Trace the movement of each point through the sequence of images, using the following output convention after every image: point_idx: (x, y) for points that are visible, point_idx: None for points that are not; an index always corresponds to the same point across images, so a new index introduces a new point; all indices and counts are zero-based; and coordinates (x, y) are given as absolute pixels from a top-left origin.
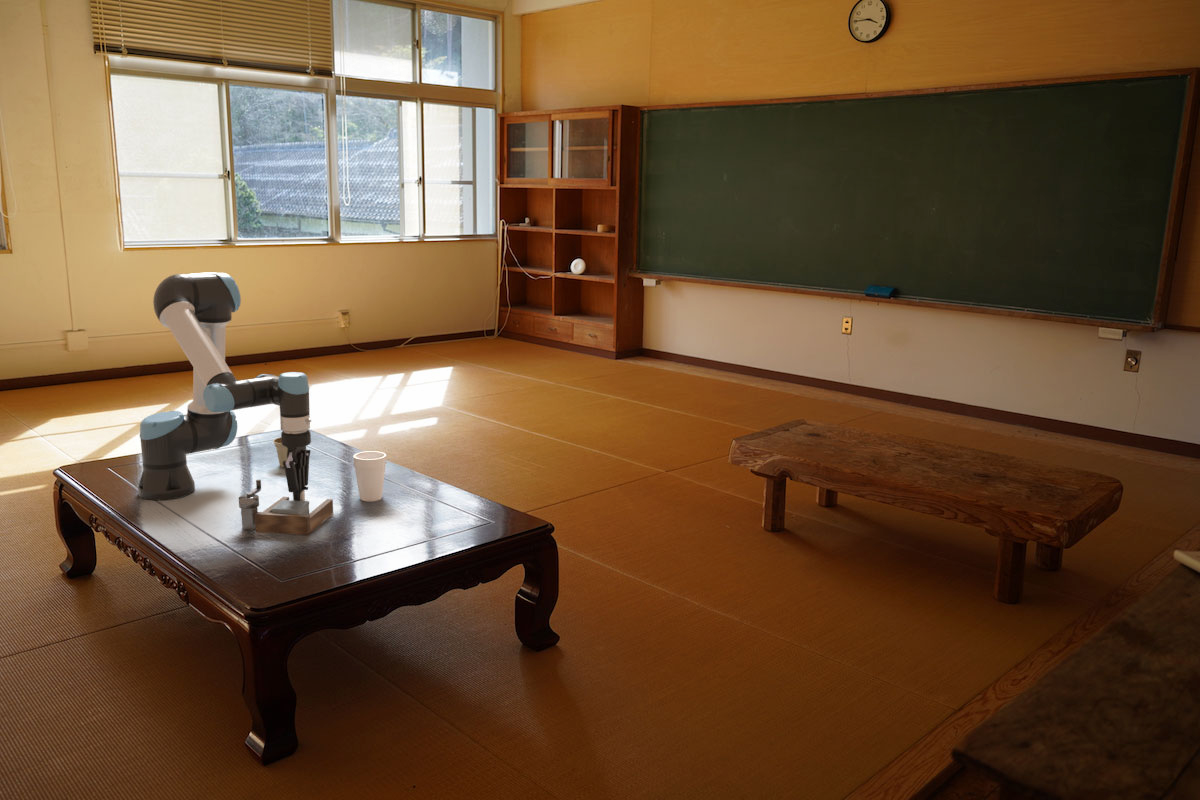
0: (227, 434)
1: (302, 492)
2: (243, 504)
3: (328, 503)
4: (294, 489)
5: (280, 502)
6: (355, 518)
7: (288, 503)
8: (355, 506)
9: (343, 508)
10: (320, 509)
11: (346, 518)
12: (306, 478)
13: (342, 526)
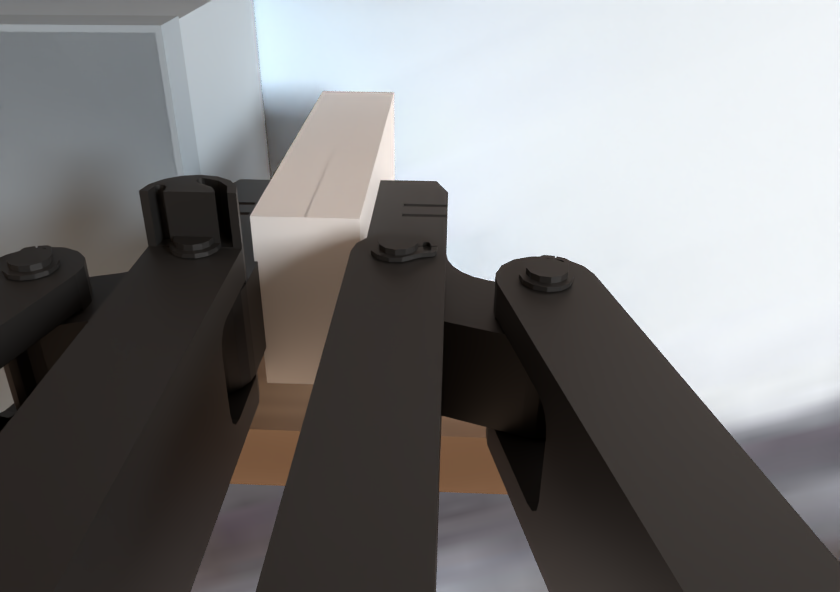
0: None
1: (272, 379)
2: None
3: (485, 488)
4: (13, 390)
5: (13, 34)
6: (466, 582)
7: (24, 190)
8: (802, 513)
9: (745, 438)
10: (240, 483)
11: (456, 527)
12: (519, 520)
13: (255, 547)
